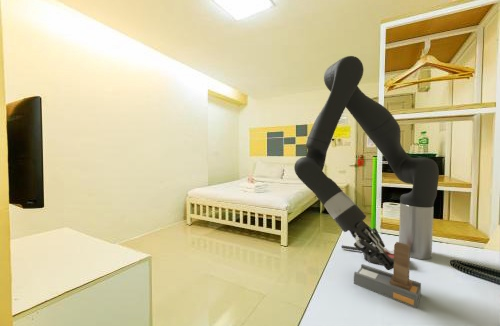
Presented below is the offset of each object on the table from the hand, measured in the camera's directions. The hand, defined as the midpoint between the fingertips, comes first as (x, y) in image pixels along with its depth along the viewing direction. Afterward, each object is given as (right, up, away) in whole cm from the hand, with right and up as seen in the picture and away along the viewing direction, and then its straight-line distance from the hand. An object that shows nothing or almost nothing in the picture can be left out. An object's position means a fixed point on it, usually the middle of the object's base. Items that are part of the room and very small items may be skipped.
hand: (392, 267), depth 55 cm
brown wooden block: (+1, -4, -1) cm, 4 cm away
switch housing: (-1, -6, +1) cm, 6 cm away
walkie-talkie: (+5, -6, +18) cm, 20 cm away
